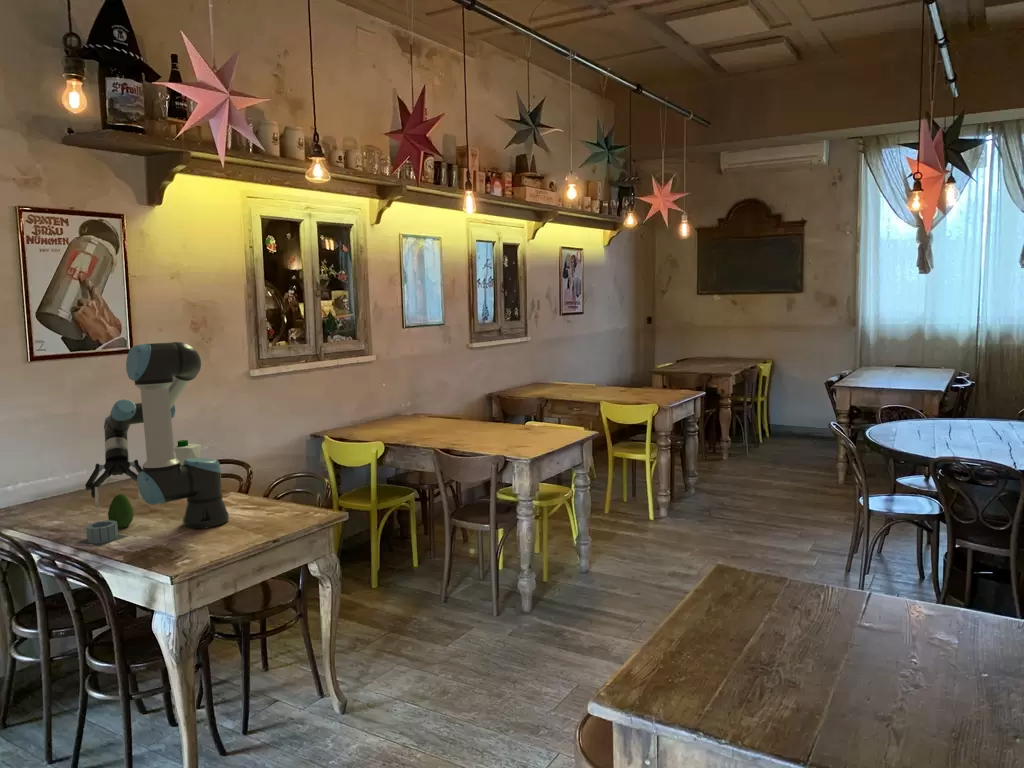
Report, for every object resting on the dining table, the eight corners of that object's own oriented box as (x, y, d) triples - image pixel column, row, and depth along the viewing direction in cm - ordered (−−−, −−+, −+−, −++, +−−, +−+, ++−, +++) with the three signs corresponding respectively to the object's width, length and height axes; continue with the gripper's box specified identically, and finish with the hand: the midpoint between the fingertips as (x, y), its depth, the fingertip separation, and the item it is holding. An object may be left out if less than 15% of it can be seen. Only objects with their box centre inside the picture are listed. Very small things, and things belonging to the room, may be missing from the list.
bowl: (124, 536, 250) (123, 522, 249) (100, 544, 242) (98, 530, 241) (105, 533, 253) (104, 519, 253) (81, 541, 245) (79, 526, 245)
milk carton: (186, 484, 320) (183, 438, 317) (206, 485, 318) (203, 439, 316) (174, 489, 311) (171, 442, 309) (194, 490, 310) (191, 443, 307)
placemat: (129, 537, 250) (128, 535, 250) (99, 547, 240) (99, 546, 240) (106, 533, 255) (106, 532, 255) (76, 543, 245) (76, 542, 245)
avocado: (131, 522, 266) (128, 490, 265) (137, 527, 260) (134, 494, 259) (106, 527, 261) (103, 494, 260) (112, 532, 255) (109, 498, 254)
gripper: (154, 454, 282) (158, 502, 271) (79, 461, 271) (79, 512, 260) (153, 443, 277) (157, 491, 265) (76, 450, 266) (76, 501, 254)
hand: (118, 502), depth 263 cm, fingers open, 13 cm apart
